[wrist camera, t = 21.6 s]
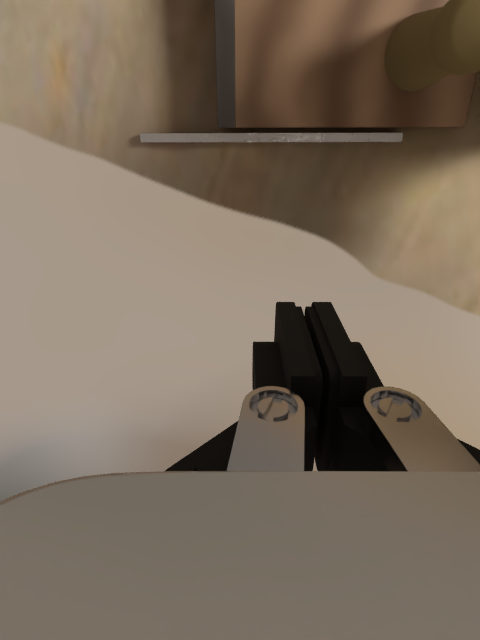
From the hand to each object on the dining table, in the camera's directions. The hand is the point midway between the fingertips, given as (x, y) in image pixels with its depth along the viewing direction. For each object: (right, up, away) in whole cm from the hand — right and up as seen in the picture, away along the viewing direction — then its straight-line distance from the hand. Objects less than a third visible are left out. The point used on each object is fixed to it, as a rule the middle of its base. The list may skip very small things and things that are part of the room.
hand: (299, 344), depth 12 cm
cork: (+14, +25, +23) cm, 37 cm away
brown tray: (+8, +26, +24) cm, 36 cm away
